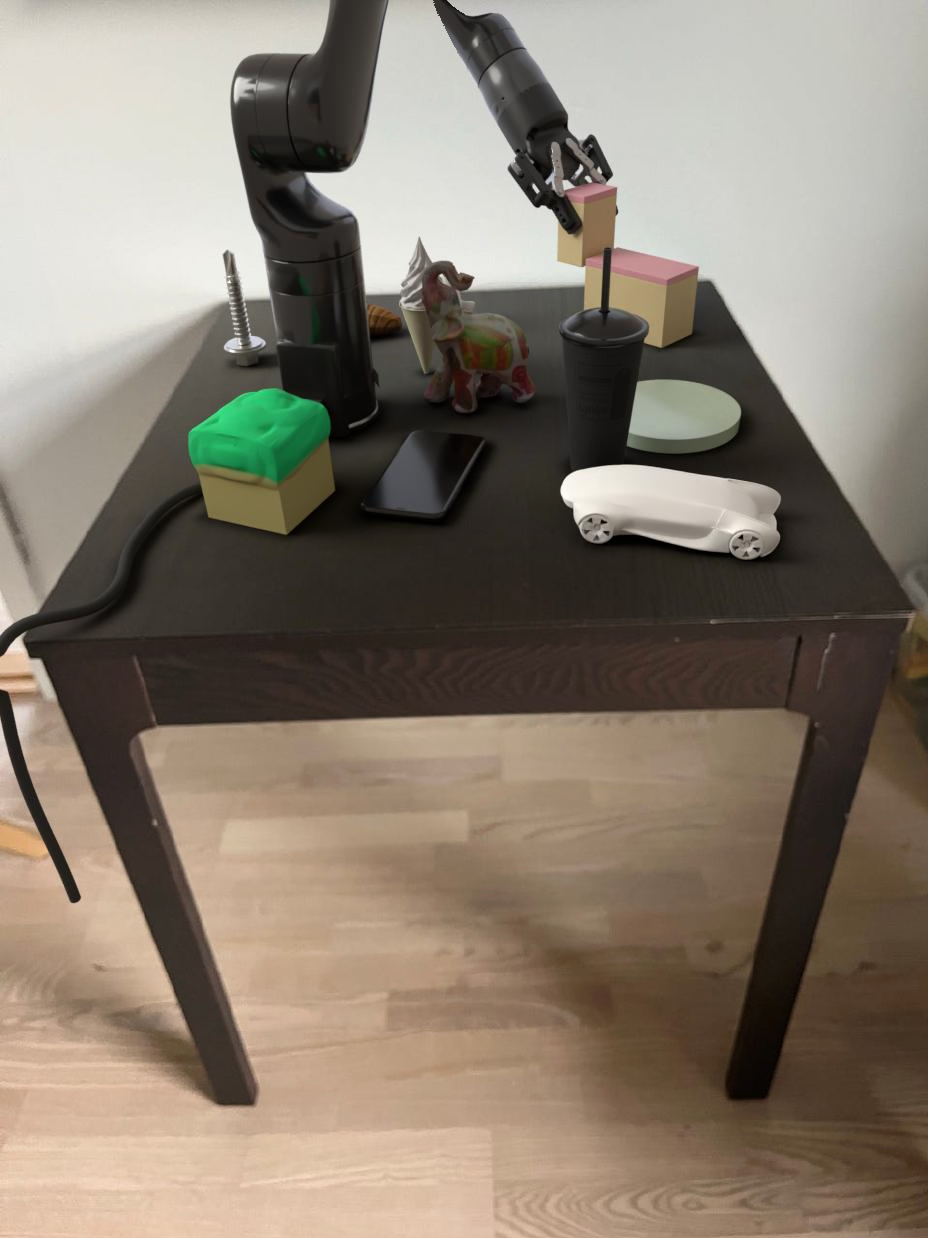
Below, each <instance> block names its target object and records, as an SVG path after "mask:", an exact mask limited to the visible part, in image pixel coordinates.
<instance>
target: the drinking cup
mask: <svg viewBox="0 0 928 1238" xmlns="http://www.w3.org/2000/svg"><path fill="white" fill-rule="evenodd" d="M611 256H612V248H610V247H606V248H604V249H603V271H602V292H601V307H597V308H591V309H587V310H584V309H583V310H581V311H579V312H576V313H572V314H570V315H568V316H566V317H564V318H563V319H562V320H561V321H560V323H558V324H559V325H558V333H559V336H561V339H562V340H561V341H562V353H563V368H564V369H563V370H564V383H565V385H564V387H565V399H566V415H567V430H568V445H569V446H568V447H569V459H570V469H571V473H573V472H575V471H578V470H583V469H587V468H593V467H600V466H609V465H625V458H626V453H627V447H628V446H627V440H628V434H629V428H630V423H631V417H632V411H633V405H634V399H635V393H636V387H637V382H639V375H640V374H639V373H640V369H641V363H642V356H643V353H644V352H643V351H644V344H645V343H644V340H645V338H646V336H647V335H648V333H649V324H648V322H647V321H646V320H645V319H644V318H642V317H640V316H638V315H635V314H632V313H630V312H627V311H625V310H622V309H618V308H612V307H609V295H610V276H611Z"/></svg>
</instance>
